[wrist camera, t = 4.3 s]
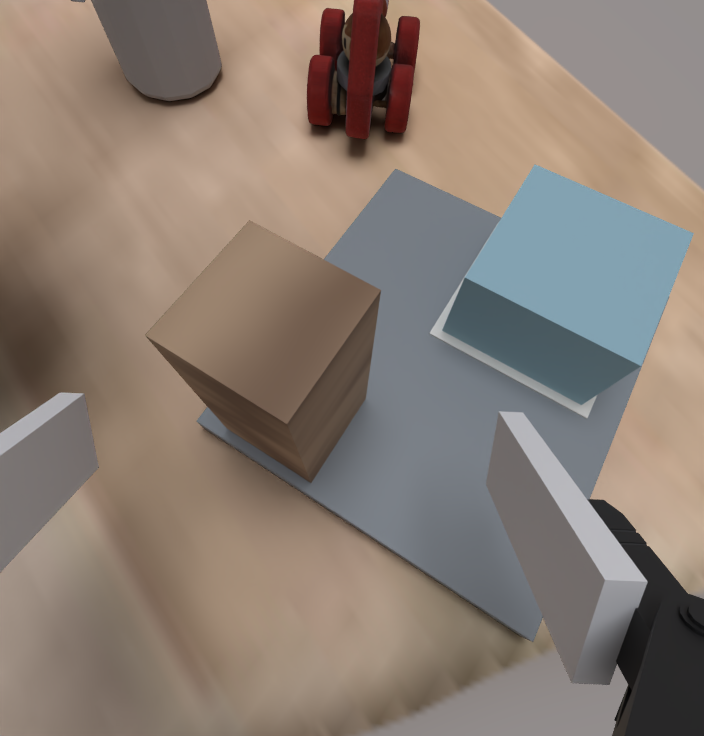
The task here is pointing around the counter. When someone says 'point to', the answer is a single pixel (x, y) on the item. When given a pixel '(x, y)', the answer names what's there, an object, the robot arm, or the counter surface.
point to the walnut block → (274, 345)
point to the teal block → (569, 286)
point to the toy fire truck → (362, 68)
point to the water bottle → (162, 45)
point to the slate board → (439, 408)
